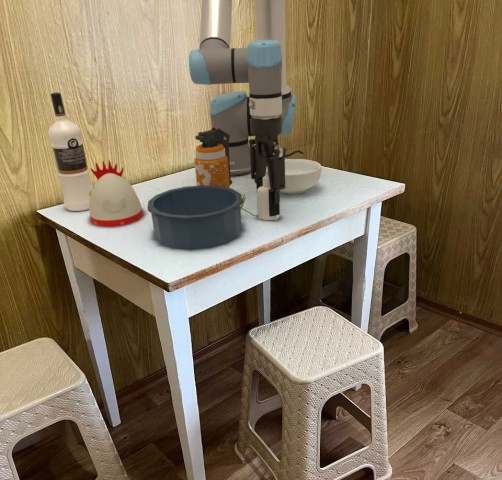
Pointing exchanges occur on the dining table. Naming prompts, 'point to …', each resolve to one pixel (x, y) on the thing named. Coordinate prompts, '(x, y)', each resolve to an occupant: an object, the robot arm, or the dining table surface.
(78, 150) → the vodka
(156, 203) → the basin
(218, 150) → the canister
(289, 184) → the cereal bowl
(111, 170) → the kitchen timer
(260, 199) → the eye dropper bottle
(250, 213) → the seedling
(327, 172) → the dining table surface
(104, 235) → the dining table surface
